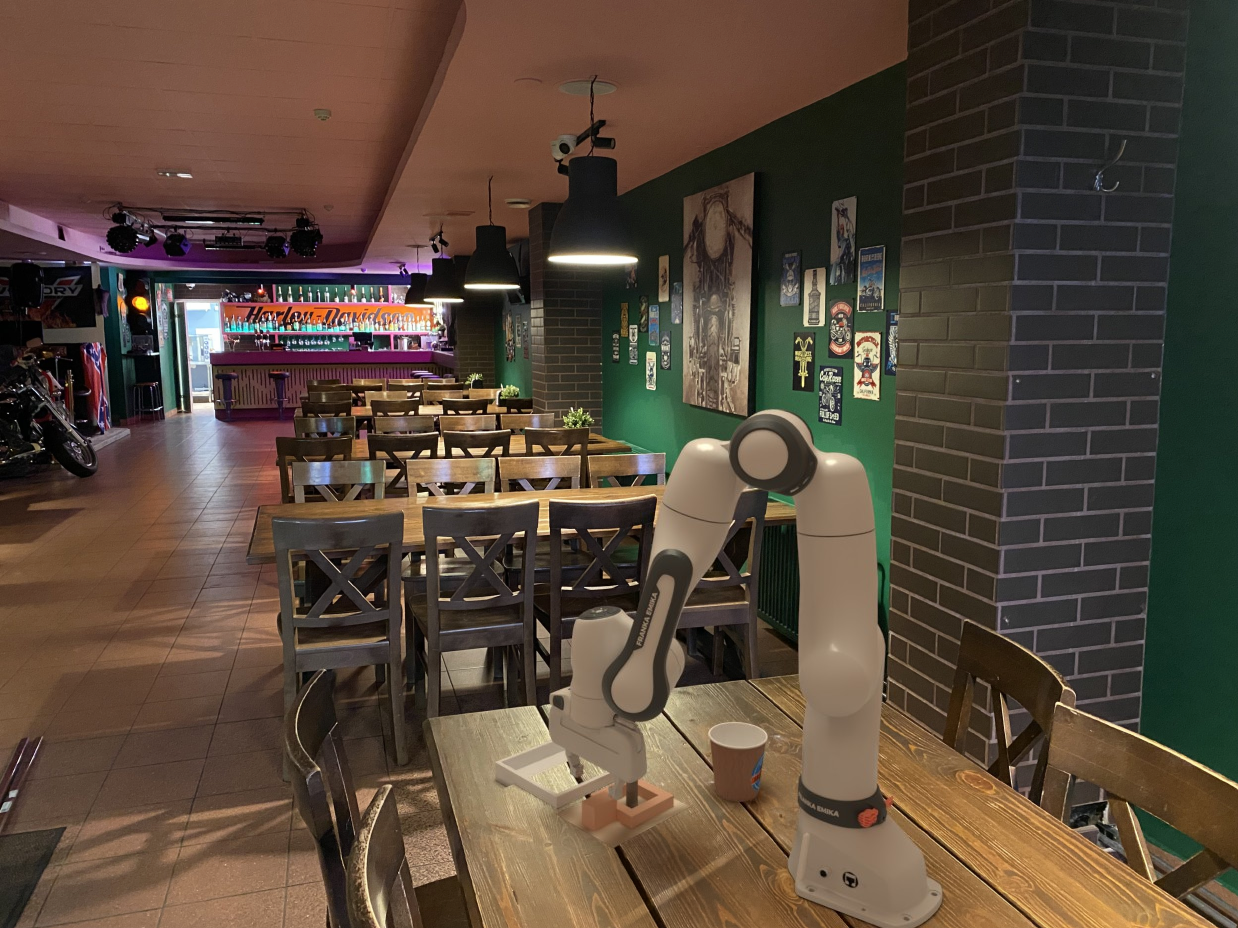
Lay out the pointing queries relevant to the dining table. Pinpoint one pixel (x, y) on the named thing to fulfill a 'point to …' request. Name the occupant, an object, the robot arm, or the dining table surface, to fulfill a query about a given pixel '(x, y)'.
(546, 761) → the tray
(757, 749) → the coffee cup
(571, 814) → the board
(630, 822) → the square frame with stem
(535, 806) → the dining table surface
